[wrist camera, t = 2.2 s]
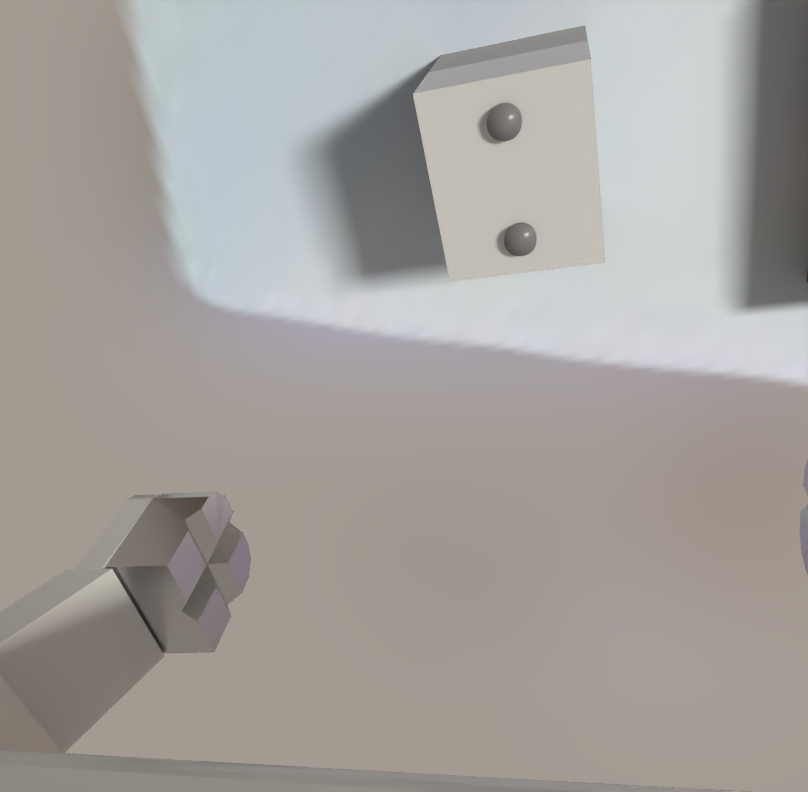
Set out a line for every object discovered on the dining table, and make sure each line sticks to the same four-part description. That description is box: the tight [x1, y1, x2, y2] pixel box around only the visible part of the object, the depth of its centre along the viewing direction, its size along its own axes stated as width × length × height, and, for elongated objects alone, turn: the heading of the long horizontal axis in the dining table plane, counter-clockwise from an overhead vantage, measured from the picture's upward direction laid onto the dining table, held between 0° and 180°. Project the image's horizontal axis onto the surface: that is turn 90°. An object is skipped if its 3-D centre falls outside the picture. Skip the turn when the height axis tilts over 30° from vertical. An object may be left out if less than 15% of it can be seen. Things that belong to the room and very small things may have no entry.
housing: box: [413, 26, 605, 282], centre depth 24 cm, size 6×5×6 cm
